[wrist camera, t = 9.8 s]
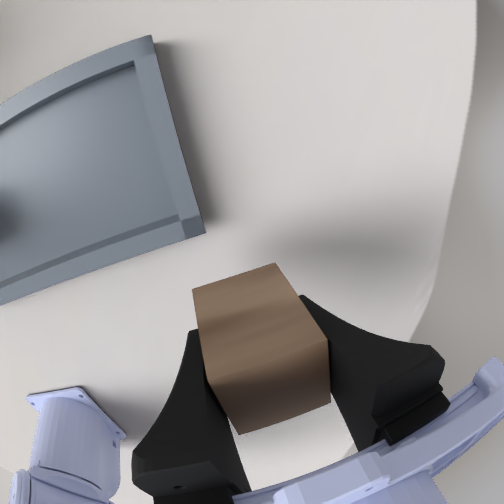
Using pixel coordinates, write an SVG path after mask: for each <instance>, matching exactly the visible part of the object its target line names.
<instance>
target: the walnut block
mask: <svg viewBox="0 0 504 504" xmlns="http://www.w3.org/2000/svg"><path fill="white" fill-rule="evenodd" d="M192 292H193V299H194V306H195V312H196V318H197V324H198V330H199V336H200V342H201V348H202V353H203V359H204V364H205V370H206V375H207V380H208V382H209V384H210V386H211V388H212V390H213V391H214V393H215V395H216V397H217V399H218V400H219V402H220V404H221V406H222V407H223V409H224V411H225V413H226V414H227V416H228V418H229V419H230V421H231V423H232V424H233V426H234V428H235V429H236V431H237V433H238V434H239V435H241V434H245V433H248V432H251V431H255V430H258V429H261V428H264V427H267V426H270V425H273V424H276V423H279V422H282V421H285V420H288V419H290V418H293V417H296V416H298V415H301V414H304V413H306V412H309V411H311V410H314V409H316V408H319V407H321V406H324V405H326V404H328V403H331V393H330V372H329V356H328V341H327V338H326V337H325V335H324V334H323V332H322V331H321V329H320V328H319V326H318V325H317V323H316V322H315V320H314V319H313V317H312V316H311V314H310V313H309V311H308V310H307V308H306V307H305V305H304V304H303V302H302V301H301V300H300V298H299V297H298V295H297V294H296V292H295V291H294V289H293V288H292V286H291V285H290V283H289V282H288V280H287V279H286V277H285V276H284V275H283V273H282V272H281V270H280V269H279V267H278V266H277V264H276V263H272V264H269V265H266V266H263V267H260V268H257V269H254V270H251V271H248V272H244V273H241V274H238V275H235V276H232V277H229V278H226V279H223V280H219V281H216V282H213V283H210V284H207V285H204V286H201V287H197V288H194V289H192Z"/></svg>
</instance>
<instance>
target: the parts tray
mask: <svg viewBox="0 0 504 504" xmlns="http://www.w3.org/2000/svg"><path fill="white" fill-rule="evenodd" d="M204 233H206V231H205V228H204V224H203V221H202V218H201V215H200V211H199V208H198V205H197V201H196V198H195V195H194V191H193V188H192V185H191V181H190V178H189V175H188V171H187V168H186V164H185V161H184V157H183V154H182V150H181V147H180V143H179V140H178V136H177V132H176V129H175V125H174V122H173V118H172V114H171V110H170V107H169V103H168V99H167V95H166V92H165V88H164V84H163V80H162V76H161V72H160V68H159V64H158V60H157V56H156V52H155V48H154V44H153V40H152V36H151V35H147V36H144V37H141V38H138V39H135V40H132V41H129V42H126V43H123V44H120V45H118V46H115V47H112V48H110V49H107V50H104V51H102V52H99V53H97V54H94V55H92V56H90V57H87V58H85V59H83V60H81V61H78V62H76V63H74V64H72V65H70V66H68V67H66V68H63V69H61V70H59V71H57V72H55V73H54V74H52V75H50V76H48V77H46V78H44V79H42V80H40V81H39V82H37V83H35V84H33V85H31V86H30V87H28V88H26V89H25V90H23V91H21V92H20V93H18V94H16V95H15V96H13V97H12V98H10V99H9V100H7V101H5V102H4V103H2V104H1V105H0V305H3V304H6V303H8V302H11V301H13V300H16V299H18V298H21V297H24V296H26V295H29V294H32V293H34V292H37V291H39V290H42V289H45V288H48V287H50V286H53V285H56V284H58V283H61V282H64V281H66V280H69V279H72V278H75V277H78V276H80V275H83V274H86V273H89V272H91V271H94V270H97V269H100V268H103V267H106V266H109V265H111V264H114V263H117V262H120V261H123V260H126V259H129V258H132V257H135V256H138V255H140V254H143V253H146V252H149V251H152V250H155V249H158V248H161V247H164V246H167V245H170V244H173V243H177V242H180V241H183V240H186V239H189V238H192V237H195V236H198V235H201V234H204Z"/></svg>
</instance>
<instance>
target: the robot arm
mask: <svg viewBox="0 0 504 504" xmlns="http://www.w3.org/2000/svg"><path fill="white" fill-rule="evenodd" d="M298 297H299V298H300V300H301V301H302V302H303V304H304V305H305V307H306V308H307V310H308V311H309V313H310V314H311V316H312V317H313V319H314V320H315V322H316V323H317V325H318V326H319V328H320V329H321V331H322V332H323V334H324V335H325V337H326V338H327V341H328V356H329V372H330V391H331V393H332V395H333V397H334V399H335V401H336V403H337V405H338V407H339V410H340V412H341V414H342V416H343V418H344V420H345V422H346V424H347V427H348V429H349V431H350V433H351V436H352V438H353V440H354V443H355V445H356V447H357V449H358V453H356V454H354V455H351V456H349V457H347V458H345V459H343V460H340V461H338V462H336V463H333V464H331V465H328V466H326V467H324V468H321V469H319V470H316V471H313V472H311V473H308V474H305V475H303V476H300V477H297V478H294V479H291V480H288V481H285V482H282V483H279V484H276V485H272V486H269V487H266V488H262V489H258V490H255V491H252V490H251V488H250V485H249V482H248V480H247V477H246V474H245V472H244V469H243V466H242V463H241V460H240V457H239V454H238V451H237V448H236V445H235V442H234V439H233V435H232V432H231V429H230V425H229V421H228V417H227V414H226V413H225V411H224V409H223V407H222V406H221V404H220V402H219V400H218V399H217V397H216V395H215V393H214V391H213V390H212V388H211V386H210V384H209V382H208V380H207V375H206V370H205V364H204V359H203V353H202V348H201V342H200V336H199V330H198V329H195V330H191V331H189V333H188V336H187V342H186V347H185V351H184V355H183V359H182V362H181V366H180V369H179V372H178V375H177V378H176V381H175V384H174V386H173V389H172V391H171V393H170V396H169V398H168V400H167V402H166V404H165V406H164V408H163V409H162V411H161V413H160V415H159V417H158V418H157V420H156V421H155V423H154V424H153V426H152V427H151V429H150V430H149V432H148V433H147V435H146V436H145V437H144V438H143V440H142V441H141V442H140V443H139V444H138V446H137V447H136V448H135V449H134V450H133V453H132V464H131V466H132V481H133V484H134V485H135V486H137V487H138V488H139V489H141V490H143V491H144V492H146V493H148V494H149V495H151V496H153V500H154V504H448V502H447V501H446V499H445V498H444V496H443V495H442V493H441V491H440V490H439V488H438V487H437V485H436V484H435V482H434V481H433V479H432V478H433V477H434V476H436V475H437V474H438V473H440V472H441V471H442V470H444V469H445V468H446V467H448V466H449V465H450V464H452V463H453V462H454V461H455V460H457V459H458V458H459V457H460V456H462V455H463V454H464V453H465V452H466V451H468V450H469V449H470V448H471V447H472V446H473V445H474V444H475V443H477V442H478V441H479V440H480V439H481V438H482V437H483V436H485V434H487V433H488V432H489V431H490V430H491V429H492V428H493V427H494V426H495V425H496V424H497V423H498V422H499V421H500V420H501V419H503V418H504V364H502V362H501V361H500V360H499V359H497V358H496V356H494V357H492V358H491V359H490V360H489V361H488V362H486V363H485V364H484V365H483V366H482V367H481V368H480V369H479V370H478V371H477V372H476V374H475V376H474V378H473V381H472V382H471V383H469V384H468V385H467V386H465V387H464V388H463V389H461V390H460V391H459V392H458V393H456V394H455V395H454V396H452V397H451V398H449V399H447V398H446V397H445V396H444V394H443V393H442V392H441V391H442V390H443V388H442V386H441V385H440V384H439V380H440V378H441V375H442V373H443V370H444V366H445V360H444V359H443V358H442V357H441V356H440V355H439V353H438V352H436V350H434V349H433V348H432V347H431V346H430V345H424V344H415V343H408V342H402V341H397V340H393V339H389V338H386V337H382V336H379V335H376V334H373V333H370V332H367V331H365V330H362V329H360V328H358V327H355V326H353V325H351V324H349V323H347V322H345V321H344V320H342V319H340V318H338V317H336V316H335V315H333V314H331V313H330V312H328V311H326V310H325V309H323V308H322V307H320V306H319V305H317V304H316V303H314V302H313V301H311V300H310V299H309V298H307V297H306V296H304V295H300V296H298ZM26 400H27V401H28V402H29V403H30V404H31V405H32V406H33V407H34V408H35V409H36V410H37V411H38V412H39V417H38V422H37V426H36V431H35V436H34V441H33V447H32V452H31V458H30V465H29V470H28V471H26V470H24V469H21V470H20V471H17V472H16V473H15V475H14V477H13V480H12V485H11V489H10V496H9V504H114V503H113V502H111V501H109V498H111V497H112V496H114V494H115V493H116V492H117V490H118V488H119V485H120V439H125V438H126V437H127V435H126V433H124V432H123V431H122V430H121V429H120V428H119V427H118V426H117V425H116V424H115V423H114V422H113V421H112V420H111V419H110V418H109V417H108V416H107V415H106V414H105V413H104V412H103V411H102V410H101V409H100V408H99V407H98V406H97V405H96V404H95V403H94V401H93V400H92V399H91V398H90V397H89V396H88V395H87V394H86V393H85V392H84V390H83V389H81V388H79V387H75V388H70V389H64V390H59V391H53V392H47V393H41V394H34V395H28V396H27V397H26Z"/></svg>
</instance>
